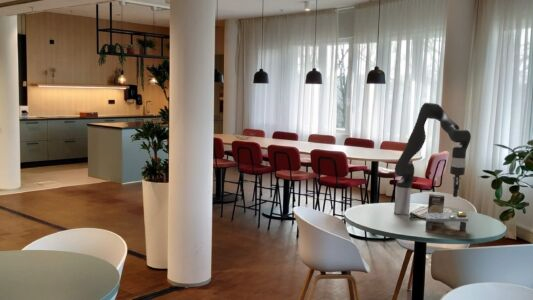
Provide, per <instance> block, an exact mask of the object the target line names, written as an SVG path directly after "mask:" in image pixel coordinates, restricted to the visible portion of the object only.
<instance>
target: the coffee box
mask: <svg viewBox="0 0 533 300" xmlns="http://www.w3.org/2000/svg"><path fill="white" fill-rule="evenodd" d="M428 195H429V196H428V202H427V212H438V213H444V205H445V195H440V194H433V193H430V194H428ZM432 223H433V224H440V225H443V224H442V223H443V221H432Z"/></svg>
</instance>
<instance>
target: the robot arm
mask: <svg viewBox="0 0 533 300" xmlns="http://www.w3.org/2000/svg"><path fill="white" fill-rule="evenodd" d="M428 119H431V120H437V121H438V122H439V123H440V126H441V128H442V130H443V131H445V133H446V134H447V135H448V137H449V139H450V141H452V142H453V143H459V144H458V146H453V148H452V154H451V161H450V172H449V174H451V175H453V177H452V186H453V187H452V188H453V189H452V190H453V191H452V192H453V193H452V196H453V197H454V198H457V197H458V193H459V190H460V185H461V179H462V178H461V177H460V176H465V171H466V156H467V149H468V147H469V144H470V142H471V138H472V135H471V132H470V131H469V130H468V129H460V127H459V124H457V123H456V122H455V121H453V119H452V118H451V117H449V116H448V115H447V113H446V112H445V110H444V109H443V107H442V106H440V104H438V103H435V102H434V103H433V102H423V104H422V106H421V107H420V109H419V113H418V114H417V119H416V122H415V123H414V124H415V125H414V126H413V130H412V131H411V134H410V136H409V137H408V140H407V142H406V145H405V147H404V149H403V151H402V153H401V155H400V157H399V158H398V160H397V162H396V164H395V166H394V173H395V175H396V176H398V177H401V178H400V179H398V181H397V182H396V186H395V199H394V208H393V214H398V215H403V216H405V215H409V214H410V206H411V193H412V185H413V183H414V182H413V181H414V176H415V175H414V174H415V166H414V163H413V162H412V161H411V160H412V159H413V157H414V156H415V155H417V154H418V153H419V152H420V150H421V149H422V148H423V146H424V144H425V142H426V140H427V139H426V138H427V135H426V130H425V126H426V125H425V124H426V123H427V120H428Z"/></svg>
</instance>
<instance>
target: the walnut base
mask: <svg viewBox="0 0 533 300" xmlns="http://www.w3.org/2000/svg"><path fill="white" fill-rule="evenodd" d="M425 233H431V234H440V235H441V234H442V235H451V236H458V237H459V236H460V237H468V232H467V222H459V226H455V225H447V224H440V223H433V222H432V221H426V220H425Z"/></svg>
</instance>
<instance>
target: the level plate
mask: <svg viewBox="0 0 533 300" xmlns="http://www.w3.org/2000/svg"><path fill="white" fill-rule="evenodd" d="M425 217H426V218H425V222H426V221H442V222H456V223H457V222H459V223H460V222H466V223H467V222H469V218H468V213H467V212H466V211H463V210H460V211H459V210H458V211H456V212H443V213H438V212H428V211H427V212H426V216H425Z"/></svg>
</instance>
